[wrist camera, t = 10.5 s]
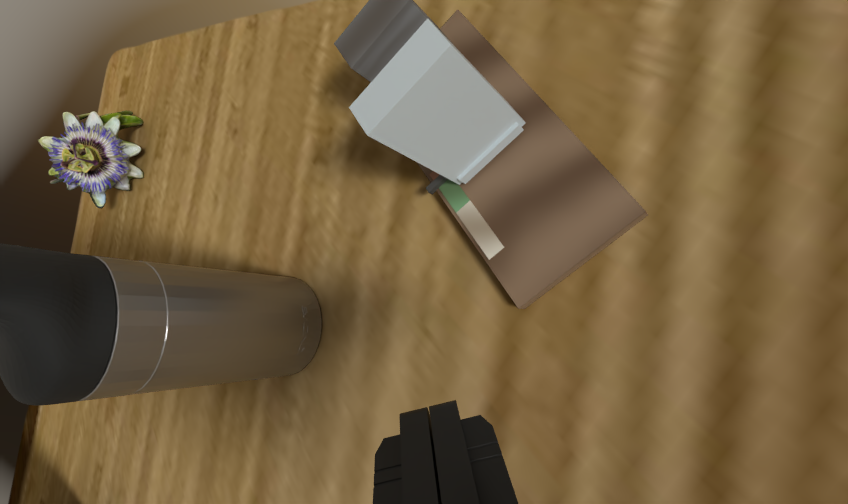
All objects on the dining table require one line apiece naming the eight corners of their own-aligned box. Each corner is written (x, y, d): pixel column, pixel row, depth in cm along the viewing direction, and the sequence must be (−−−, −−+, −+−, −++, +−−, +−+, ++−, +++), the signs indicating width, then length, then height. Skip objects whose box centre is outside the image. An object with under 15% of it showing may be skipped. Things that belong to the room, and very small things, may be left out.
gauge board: (648, 215, 30) (626, 181, 23) (524, 308, 33) (473, 305, 26) (464, 17, 39) (409, -49, 32) (382, 106, 42) (316, 64, 35)
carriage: (528, 125, 33) (454, 48, 24) (441, 206, 36) (344, 165, 27) (466, 55, 36) (380, -36, 27) (391, 134, 39) (291, 76, 30)
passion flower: (180, 183, 67) (100, 219, 58) (129, 170, 71) (47, 202, 62) (156, 103, 61) (62, 130, 52) (102, 93, 65) (6, 117, 56)
